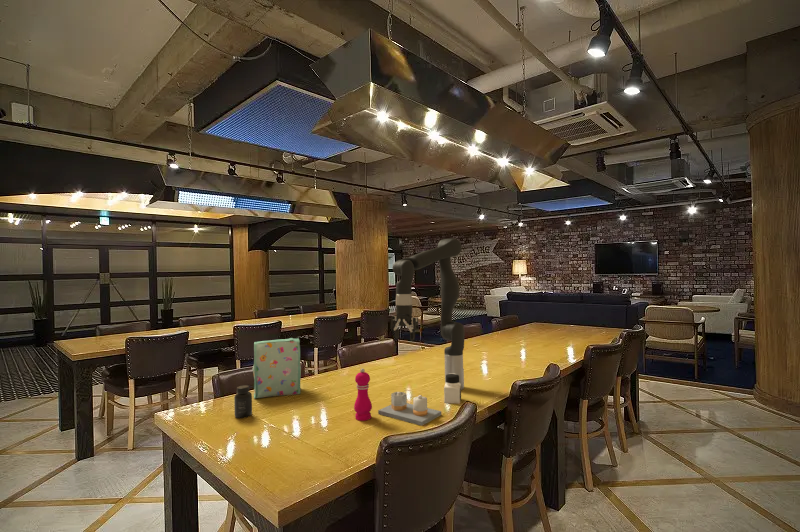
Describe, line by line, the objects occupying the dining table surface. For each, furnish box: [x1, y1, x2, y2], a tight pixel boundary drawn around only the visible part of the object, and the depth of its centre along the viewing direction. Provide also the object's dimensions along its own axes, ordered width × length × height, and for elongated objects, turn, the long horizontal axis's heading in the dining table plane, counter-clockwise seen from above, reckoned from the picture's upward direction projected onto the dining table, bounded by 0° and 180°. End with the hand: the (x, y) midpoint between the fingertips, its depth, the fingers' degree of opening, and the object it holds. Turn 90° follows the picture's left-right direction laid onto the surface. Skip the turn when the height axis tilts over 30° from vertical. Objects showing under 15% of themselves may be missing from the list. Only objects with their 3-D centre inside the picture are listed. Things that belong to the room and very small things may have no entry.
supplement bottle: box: [233, 384, 253, 419], centre depth 163 cm, size 7×7×12 cm
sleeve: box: [390, 391, 408, 411], centre depth 165 cm, size 6×6×6 cm
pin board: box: [377, 391, 442, 426], centre depth 161 cm, size 14×22×9 cm, turn 52°
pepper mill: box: [353, 367, 373, 422], centre depth 158 cm, size 7×7×20 cm
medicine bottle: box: [443, 373, 462, 405], centre depth 178 cm, size 7×7×12 cm
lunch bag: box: [251, 337, 302, 399], centre depth 194 cm, size 23×16×27 cm
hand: (404, 339), depth 178 cm, fingers open, 8 cm apart
